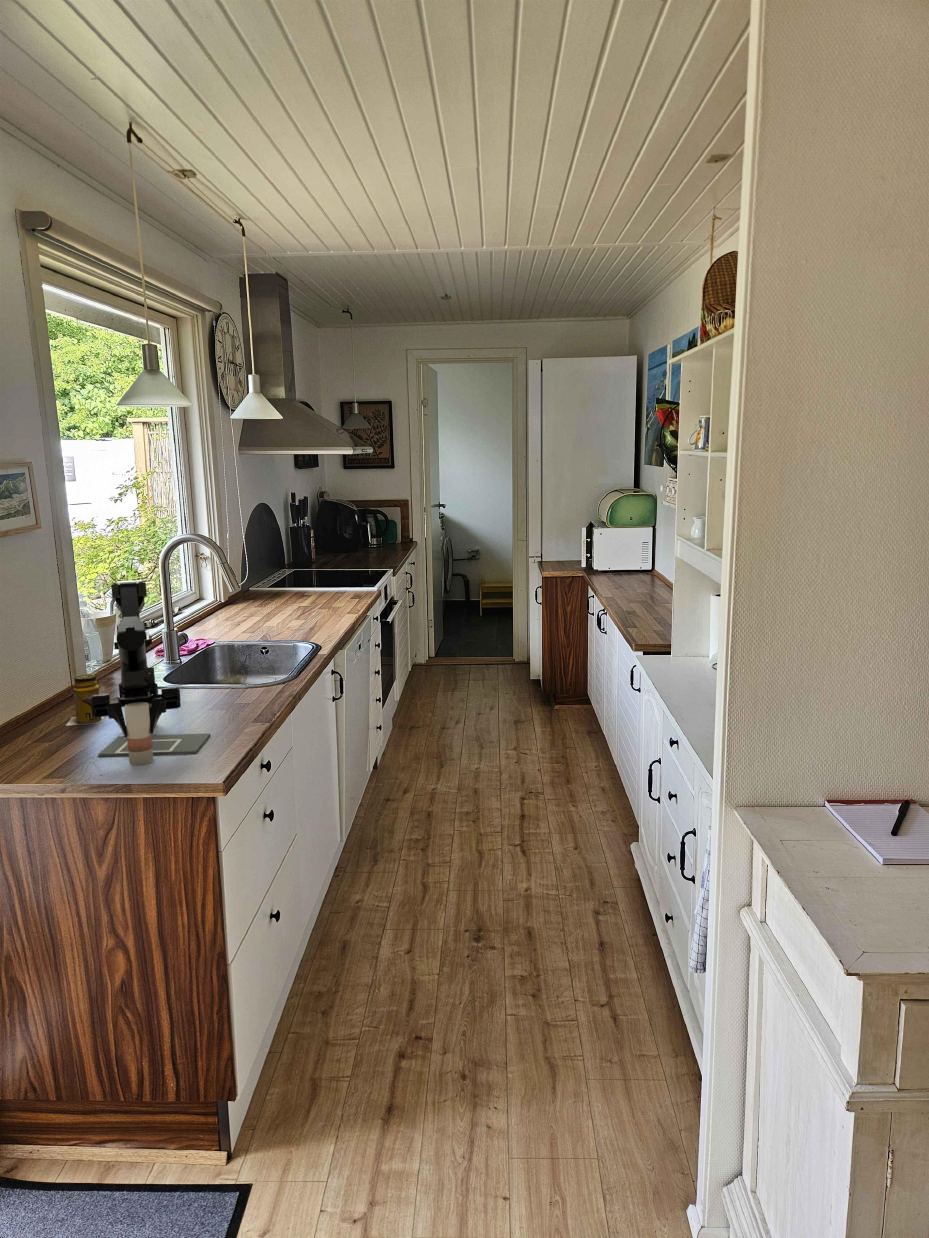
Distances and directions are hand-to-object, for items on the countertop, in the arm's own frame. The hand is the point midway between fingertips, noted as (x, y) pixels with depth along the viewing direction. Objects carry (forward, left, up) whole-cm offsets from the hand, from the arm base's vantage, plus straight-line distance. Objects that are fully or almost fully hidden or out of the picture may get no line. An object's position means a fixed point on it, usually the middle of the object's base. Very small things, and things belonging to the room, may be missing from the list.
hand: (138, 734), depth 184 cm
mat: (0, +12, -7) cm, 14 cm away
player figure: (0, +1, -7) cm, 7 cm away
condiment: (-25, +34, -7) cm, 43 cm away
